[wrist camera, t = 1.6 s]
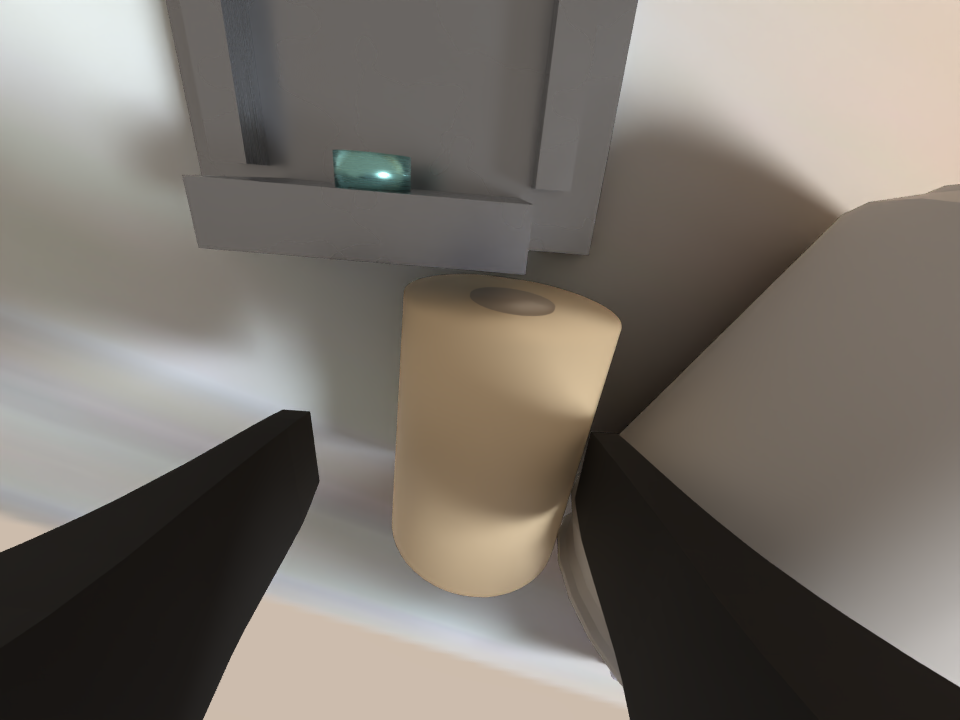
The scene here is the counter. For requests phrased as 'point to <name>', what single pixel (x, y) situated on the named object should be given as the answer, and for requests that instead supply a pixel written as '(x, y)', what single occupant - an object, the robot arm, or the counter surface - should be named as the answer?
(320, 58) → the holder
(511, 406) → the roll
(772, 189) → the counter surface
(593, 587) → the can
